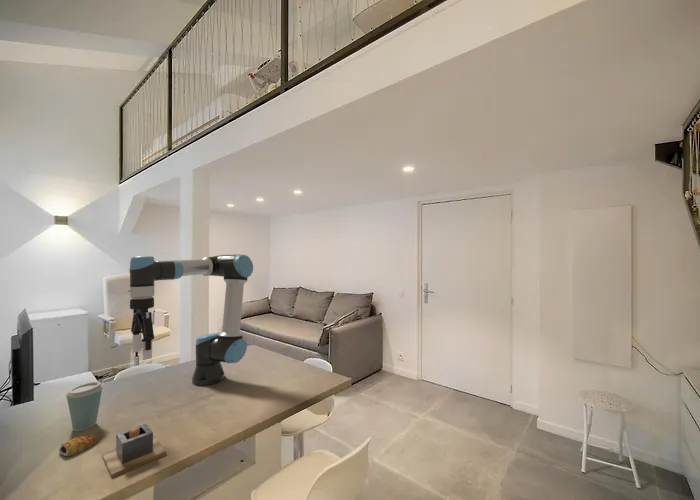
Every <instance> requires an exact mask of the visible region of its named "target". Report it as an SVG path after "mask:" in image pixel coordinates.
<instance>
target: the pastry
mask: <svg viewBox="0 0 700 500" xmlns="http://www.w3.org/2000/svg"><path fill="white" fill-rule="evenodd" d="M98 439H99V438H98V436H97V435H96V434H88V435H81V436H75V437H74V438H71V439H68V440H66V441H65V442H63V443H61V445H60V446H59V449H58V452H59V453H60V455H62V456H64V457H71V456H74V455H77V454H78V453H81V452H83V451H85V450H87V449H89V448H90V447H92V446H94V445H95V444H96V443H97V442H98Z"/></svg>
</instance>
